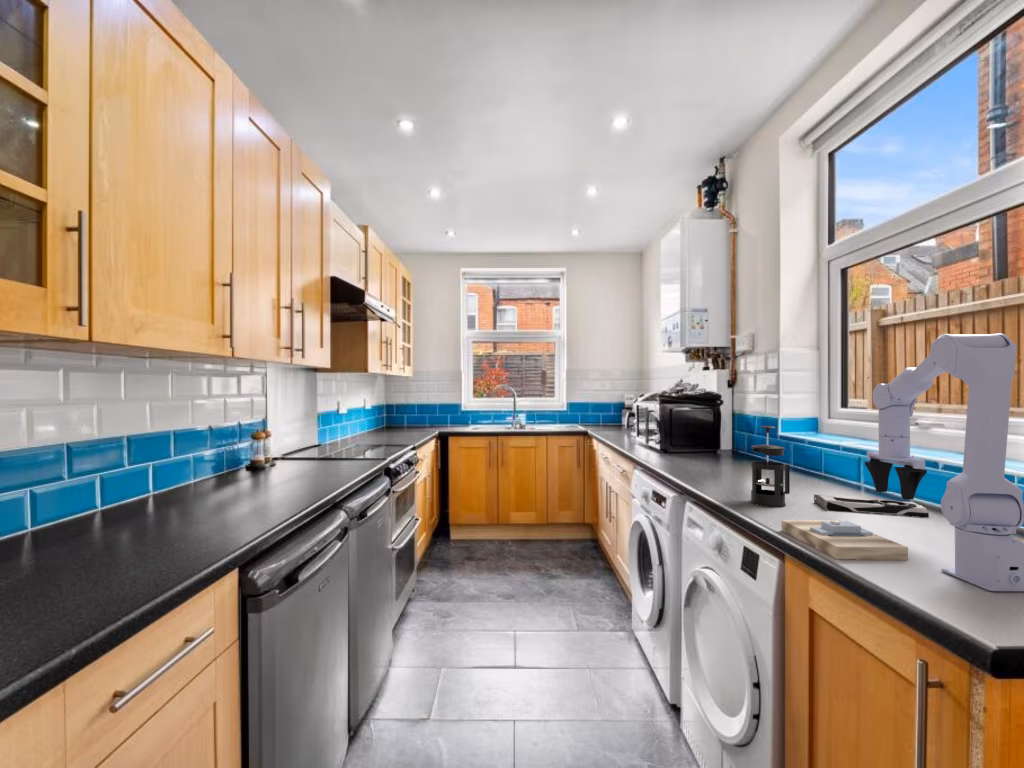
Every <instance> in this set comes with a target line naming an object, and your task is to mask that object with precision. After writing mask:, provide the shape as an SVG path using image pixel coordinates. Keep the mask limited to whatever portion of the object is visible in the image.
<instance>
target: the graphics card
mask: <svg viewBox="0 0 1024 768" xmlns="http://www.w3.org/2000/svg"><path fill="white" fill-rule="evenodd" d="M813 504H817V505H818V506H820V505H821V506H820V507H821V508H823V509H824V510H825V511H826V512H828V511H834V512H843V513H845V512H847V513H857V514H859V513H860V514H870V513H875V514H874V515H883V514H891V515H890V516H897V515H909V516H908V517H912V516H919V517H918V518H925V517H929V518H930V514H929V512H928V510H927V508H926V507H924V506H923V505H920V504H918V503H916V502H912V501H903V500H892V499H870V498H869V499H868V498H855V497H843V496H842V497H841V496H835V495H826V494H813Z"/></svg>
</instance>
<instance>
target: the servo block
mask: <svg viewBox="0 0 1024 768" xmlns="http://www.w3.org/2000/svg"><path fill="white" fill-rule="evenodd" d="M835 520H836V519H835ZM835 520H833V519H831V521H821V527H810V530H812V531H814V532H816V533H818V534H820V535H828V536H849V537H861V535H873V534H874V532H873V531H870V530H868V529H864V528H863V527H862V526H861V525H858V524H856V523H853V522H851V521H848V520H847V521H845V520H844V521H843V520H840V521H835Z"/></svg>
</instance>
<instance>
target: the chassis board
mask: <svg viewBox="0 0 1024 768" xmlns="http://www.w3.org/2000/svg"><path fill="white" fill-rule="evenodd" d="M831 520H832V519H831ZM831 520H829V519H828V520H827V519H826V520H825V519H822V520H821V519H781V532H783V533H786V535H789V536H792V537H794V538H795V539H797V540H799V541H801V542H803V543H805V544H807V545H809V546H810V547H812V548H815V549H817V550H819V551H821V552H822V553H824V554H826V555H828V556H830V557H831V558H834V559H836V560H838V559H856V560H858V561H859V560H860V561H861V560H862V561H863V560H864V561H866V560H868V561H878V560H880V561H908V560H909V547H908V546H906V545H903V544H902V543H898V542H895V541H893V540H891V539H888V538H885V537H884V536H881V535H879V534H875V533H873V535H861V537H849V536H828V535H820V534H818V533H816V532H814V531H812V530H810V527H821V521H831ZM835 521H841V520H837V519H835Z"/></svg>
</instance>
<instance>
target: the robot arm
mask: <svg viewBox="0 0 1024 768" xmlns="http://www.w3.org/2000/svg"><path fill="white" fill-rule="evenodd" d="M1017 347H1018V346H1017V344H1016V343H1015V342H1014V341H1012V340H1011V338H1010V337H1009V336H1007V335H1006V334H1005V333H999V332H998V333H991V334H990V333H989V334H988V333H987V334H986V333H985V334H983V333H981V334H973V333H972V334H950V333H943V334H941V335H939V336H937V338H936V339H935V340H933V341H932V342H931V344H930V351H929V352H930V353H929V355H928V356H926V357H925V358H924V359H923V360H922V361H921V363H919V364H918V365H917V366H913V367H905V368H904V369H903V371H901V373H899V374H898V375H897V376H896V377H895V378H893V379H892V380H891V381H890V382H888V383H877V385H876V386H875V387H874V389H873V391H872V400H873V401H872V402H873V405H874V406H875V407H876V409H877V410H878V451H875V450H874V451H866V459H867V460H869V461H864V465H865V468H866V469H867V470H868V473H869V474H870V476H871V479H872V481H873V485H874V488H875V491H876V493H877V492H878V493H887V492H888V488H889V479H890V474H891V473H890V472H891V470H892V467H893V465H898V466H895V467H894V470H895V473H896V475H897V476H898V480H899V485H900V486H899V487H900V496H901V498H902V500H914V499H915V496H916V493H917V490H918V486H919V485H920V483H921V481H922V479H923V478H924V477H925V476H926V474H927V473H928V470H927V469H926V460H925V459H922V458H917V457H915V455H911V417H913V415H914V407H915V406H916V403H917V398H918V397H919V396H921V395H922V394H924V393H925V392H927V391H928V390H930V388H931V387H932V386H933V384H934V379H935V378H937V377H939V376H940V375H942V374H944V373H948V374H949V375H951V376H952V377H953V378H955V379H959V380H962V381H963V382H964V384H965V385H967V387H968V394H967V406H966V407H967V408H966V419H965V420H966V421H965V434H964V436H965V437H964V448H963V459H962V460H963V462H962V463H963V464H962V472H960V473H959V474H957V475H955V476H954V477H952V478H950V479H949V480H948V481H946V489H945V492H944V494H943V496H942V497H941V501H940V508H941V513H942V515H943V517H944V518H945V519H946V520H947V522H948V523H949V525H950V526H953V527H954V567H942V568H941V571H942V572H944V573H946V574H949V575H951V576H953V577H956V578H958V579H960V580H962V581H965V582H968V583H969V584H972V585H975V586H977V587H979V588H982V589H983V590H986V591H990V592H1024V542H1022V541H1021V540H1019V539H1017V538H1015V537H1014V536H1013V535H1014V534H1017V529H1019V528H1021V527H1022V526H1023V525H1024V501H1023V493H1024V492H1023V490H1022V489H1021V488H1020V487H1019V486H1017V485H1016V484H1014V483H1013V482H1012V481H1010V480H1009V479H1007V478H1006V477H1005V472H1006V470H1005V468H1006V457H1007V449H1008V448H1007V447H1008V436H1009V435H1008V433H1009V421H1010V420H1009V419H1010V407H1011V398H1012V397H1011V396H1012V383H1013V378H1014V377H1015V372H1016V360H1017V359H1016V357H1017V356H1016V355H1017ZM1012 534H1013V535H1012Z"/></svg>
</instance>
